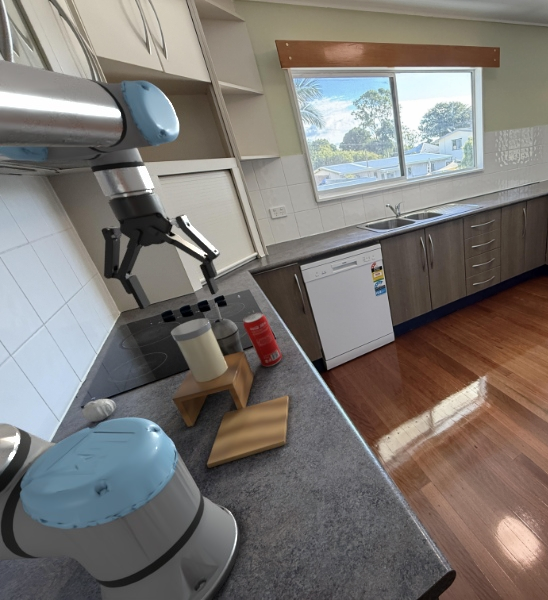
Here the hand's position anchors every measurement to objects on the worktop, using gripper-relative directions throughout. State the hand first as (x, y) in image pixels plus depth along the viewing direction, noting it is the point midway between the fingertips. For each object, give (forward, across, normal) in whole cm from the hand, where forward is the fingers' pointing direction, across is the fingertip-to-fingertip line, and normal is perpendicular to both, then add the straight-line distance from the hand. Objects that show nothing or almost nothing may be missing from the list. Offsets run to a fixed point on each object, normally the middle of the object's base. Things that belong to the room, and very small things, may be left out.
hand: (181, 299), depth 66 cm
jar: (+19, +1, 0) cm, 19 cm away
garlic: (+27, +30, -5) cm, 40 cm away
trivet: (+27, -9, +14) cm, 31 cm away
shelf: (+27, +1, 0) cm, 27 cm away
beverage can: (+27, -9, -12) cm, 31 cm away
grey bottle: (+27, 0, -13) cm, 30 cm away
